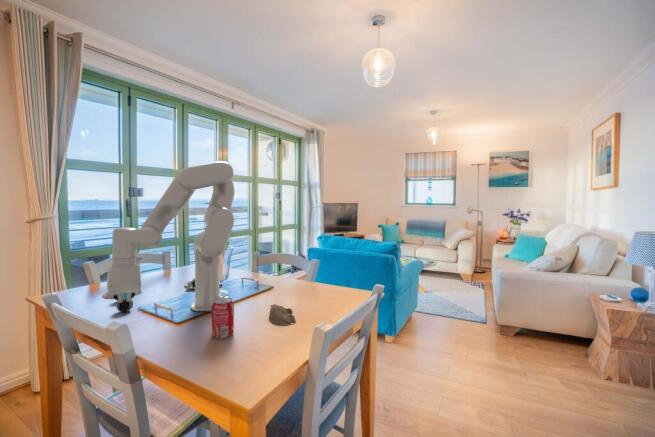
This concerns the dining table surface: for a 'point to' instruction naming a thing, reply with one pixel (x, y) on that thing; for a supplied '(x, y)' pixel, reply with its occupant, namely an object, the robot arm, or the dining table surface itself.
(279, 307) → the oyster shell
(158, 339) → the dining table surface
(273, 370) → the dining table surface
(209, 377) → the dining table surface
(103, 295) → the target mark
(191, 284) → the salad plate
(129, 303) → the grey rounded lump
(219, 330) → the soda can
